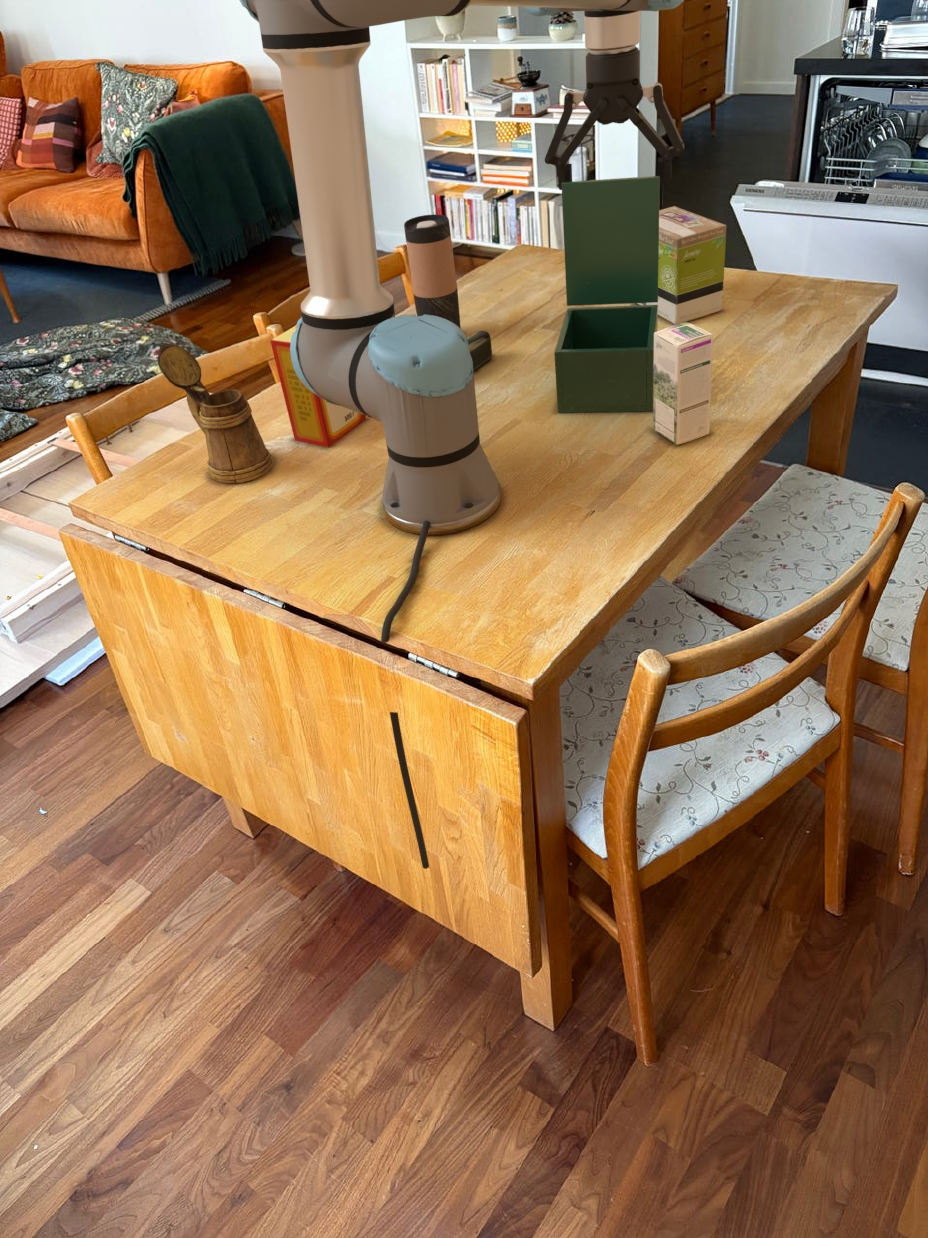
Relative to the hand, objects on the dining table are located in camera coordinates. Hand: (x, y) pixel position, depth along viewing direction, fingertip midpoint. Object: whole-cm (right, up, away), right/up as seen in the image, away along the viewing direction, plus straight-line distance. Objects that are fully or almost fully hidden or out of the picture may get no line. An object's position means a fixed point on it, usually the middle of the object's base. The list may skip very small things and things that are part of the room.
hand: (614, 208), depth 146 cm
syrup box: (+7, -37, -13) cm, 40 cm away
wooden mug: (-57, -40, -6) cm, 70 cm away
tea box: (+14, -8, +23) cm, 28 cm away
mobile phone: (-23, -23, +10) cm, 34 cm away
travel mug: (-27, -13, +23) cm, 38 cm away
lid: (-1, -7, -5) cm, 9 cm away
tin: (-1, -27, +1) cm, 27 cm away
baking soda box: (-43, -34, 0) cm, 55 cm away
